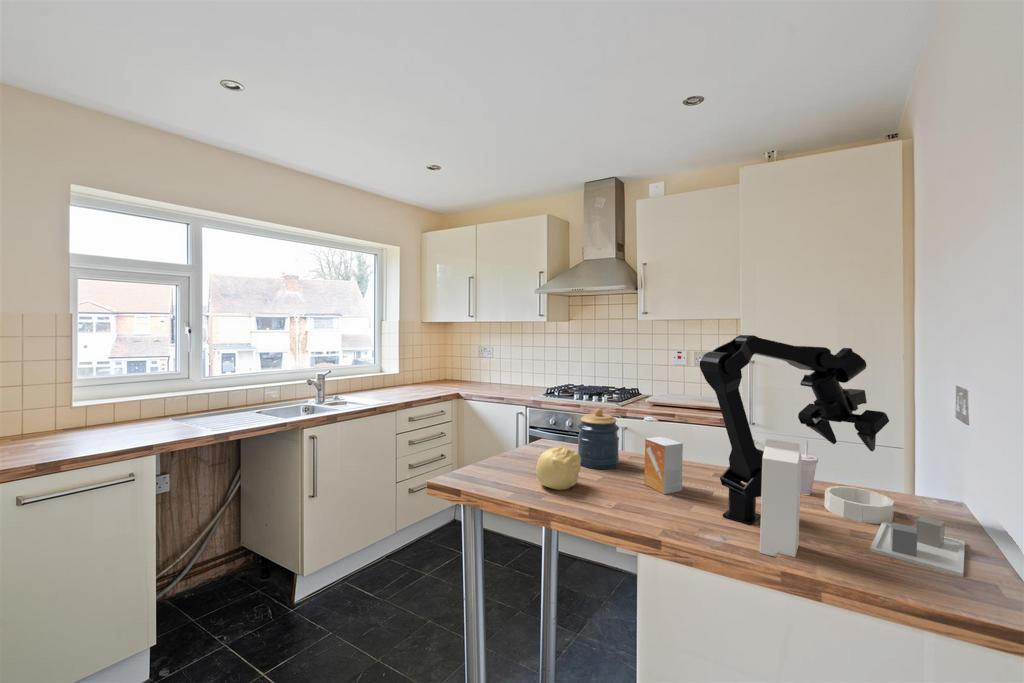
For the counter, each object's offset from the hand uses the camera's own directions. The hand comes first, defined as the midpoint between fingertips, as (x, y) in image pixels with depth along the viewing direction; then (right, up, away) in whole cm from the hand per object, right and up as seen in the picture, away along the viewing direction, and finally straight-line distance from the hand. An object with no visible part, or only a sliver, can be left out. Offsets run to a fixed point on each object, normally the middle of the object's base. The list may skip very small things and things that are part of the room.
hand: (853, 446), depth 115 cm
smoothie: (-7, -15, +9) cm, 18 cm away
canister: (-56, -13, +34) cm, 67 cm away
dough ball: (-71, -14, +14) cm, 74 cm away
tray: (-4, -16, -23) cm, 28 cm away
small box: (-43, -14, +13) cm, 47 cm away
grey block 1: (-8, -15, -24) cm, 29 cm away
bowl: (-3, -15, -5) cm, 16 cm away
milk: (-31, -16, -23) cm, 42 cm away
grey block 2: (0, -15, -21) cm, 25 cm away
